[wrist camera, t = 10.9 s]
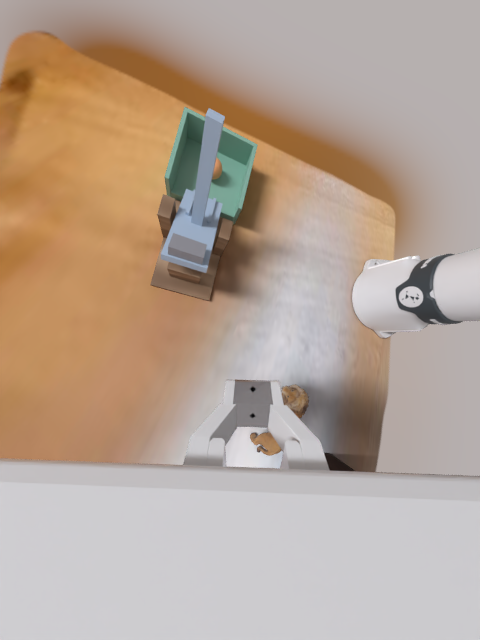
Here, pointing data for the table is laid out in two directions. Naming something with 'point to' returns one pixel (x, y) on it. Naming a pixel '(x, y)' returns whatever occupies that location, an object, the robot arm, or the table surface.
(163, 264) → the stand
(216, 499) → the robot arm
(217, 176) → the ball
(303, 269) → the table surface
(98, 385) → the table surface
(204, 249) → the lever
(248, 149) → the tray
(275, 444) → the lion figurine
